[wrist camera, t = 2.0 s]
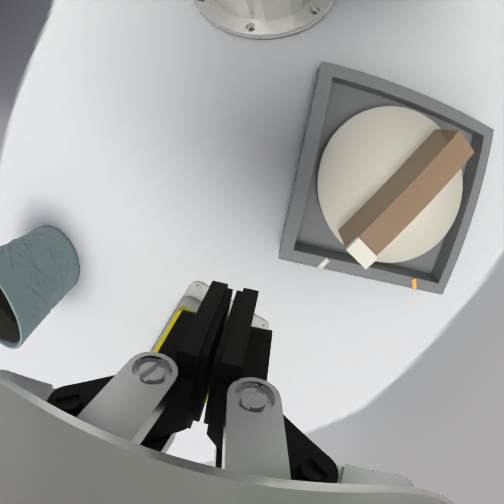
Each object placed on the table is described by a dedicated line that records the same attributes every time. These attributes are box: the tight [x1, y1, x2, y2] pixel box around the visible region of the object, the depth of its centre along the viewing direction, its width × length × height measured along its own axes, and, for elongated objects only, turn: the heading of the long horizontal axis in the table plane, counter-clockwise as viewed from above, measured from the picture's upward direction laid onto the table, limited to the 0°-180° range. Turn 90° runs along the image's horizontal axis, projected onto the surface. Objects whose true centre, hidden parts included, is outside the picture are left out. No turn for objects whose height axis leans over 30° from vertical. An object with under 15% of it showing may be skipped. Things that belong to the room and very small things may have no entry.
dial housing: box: [279, 62, 494, 294], centre depth 23 cm, size 16×16×3 cm
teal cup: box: [0, 226, 80, 349], centre depth 26 cm, size 10×10×12 cm
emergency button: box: [151, 281, 269, 402], centre depth 32 cm, size 9×4×15 cm
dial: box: [317, 106, 474, 269], centre depth 20 cm, size 13×13×6 cm
